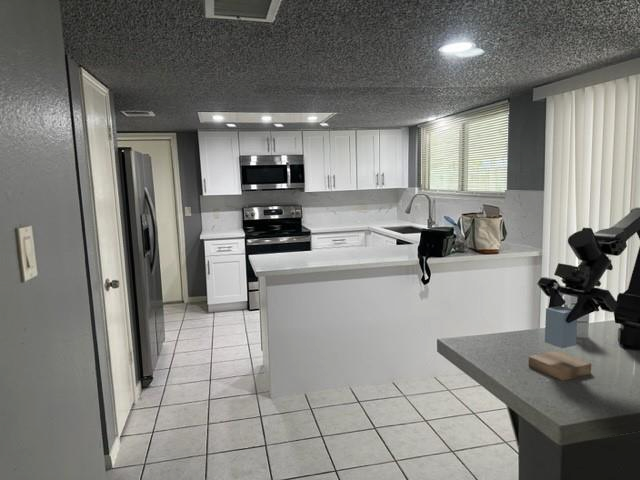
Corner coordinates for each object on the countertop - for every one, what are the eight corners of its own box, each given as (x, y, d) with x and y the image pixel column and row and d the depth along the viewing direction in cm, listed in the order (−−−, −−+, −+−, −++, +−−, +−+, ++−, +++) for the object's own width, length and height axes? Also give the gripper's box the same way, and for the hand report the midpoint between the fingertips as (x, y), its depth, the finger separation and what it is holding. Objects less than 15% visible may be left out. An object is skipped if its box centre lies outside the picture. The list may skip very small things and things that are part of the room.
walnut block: (555, 360, 119) (556, 350, 119) (590, 375, 110) (591, 363, 109) (528, 367, 115) (528, 356, 115) (562, 382, 106) (562, 370, 106)
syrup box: (589, 338, 134) (591, 292, 133) (568, 337, 136) (570, 291, 134) (581, 332, 140) (584, 287, 138) (561, 331, 141) (563, 287, 139)
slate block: (558, 339, 115) (559, 305, 114) (576, 345, 110) (577, 310, 109) (544, 342, 113) (545, 308, 112) (562, 348, 108) (563, 313, 107)
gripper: (543, 247, 119) (511, 292, 116) (612, 257, 102) (577, 309, 99) (562, 273, 123) (532, 316, 120) (631, 286, 106) (598, 337, 103)
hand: (557, 319), depth 110 cm, fingers closed on slate block, 5 cm apart
